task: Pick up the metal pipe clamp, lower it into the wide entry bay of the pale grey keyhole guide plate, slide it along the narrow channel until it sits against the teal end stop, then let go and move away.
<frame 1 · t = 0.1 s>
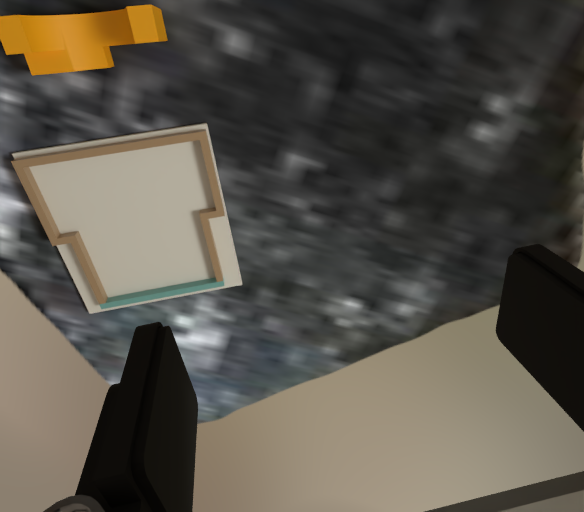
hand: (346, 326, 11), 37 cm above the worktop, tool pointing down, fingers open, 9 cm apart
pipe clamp: (103, 41, 37), on the worktop
keyhole guide: (143, 225, 47), on the worktop
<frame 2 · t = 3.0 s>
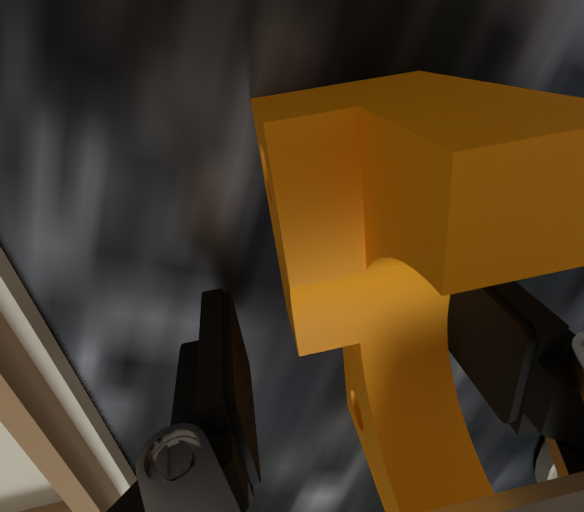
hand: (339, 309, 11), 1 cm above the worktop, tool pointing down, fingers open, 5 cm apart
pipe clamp: (346, 276, 13), on the worktop, touching gripper
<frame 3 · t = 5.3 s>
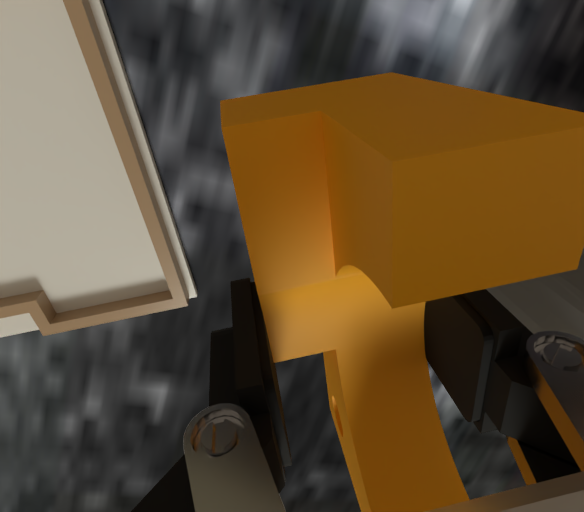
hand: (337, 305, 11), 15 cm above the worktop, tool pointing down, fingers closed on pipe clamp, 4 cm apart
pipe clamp: (326, 281, 13), point 14 cm above the worktop, touching gripper
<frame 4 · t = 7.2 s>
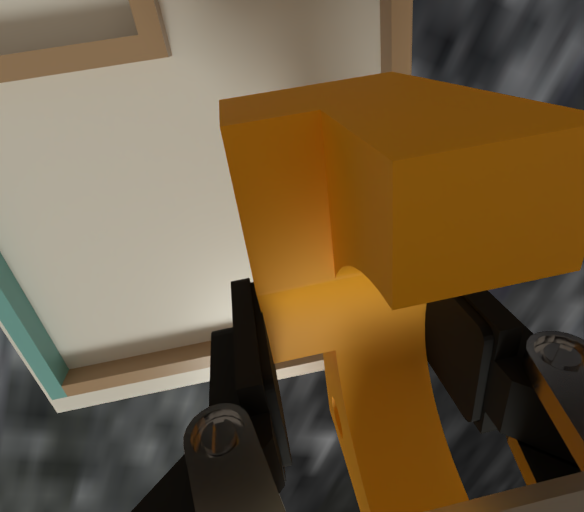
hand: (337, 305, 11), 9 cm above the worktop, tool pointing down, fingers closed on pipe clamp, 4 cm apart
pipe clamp: (325, 281, 13), point 7 cm above the worktop, touching gripper
keyhole guide: (194, 220, 19), on the worktop
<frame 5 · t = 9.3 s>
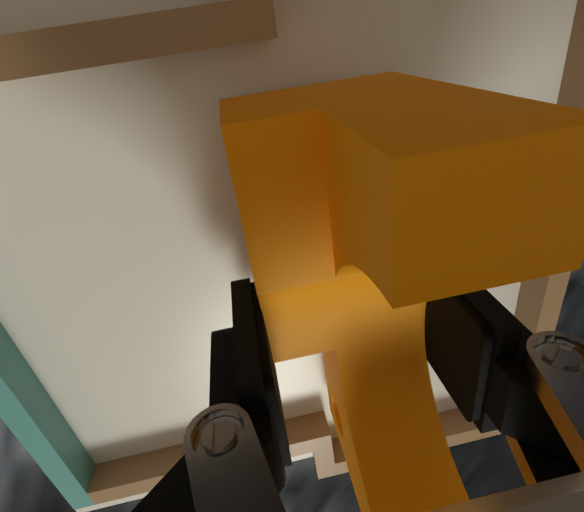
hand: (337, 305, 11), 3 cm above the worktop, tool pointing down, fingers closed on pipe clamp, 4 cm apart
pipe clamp: (326, 281, 13), point 1 cm above the worktop, touching gripper
keyhole guide: (273, 271, 14), on the worktop
when the fingers open (2 cm above the worktop, at t = 11.3 s): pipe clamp stays where it is, resting on keyhole guide.
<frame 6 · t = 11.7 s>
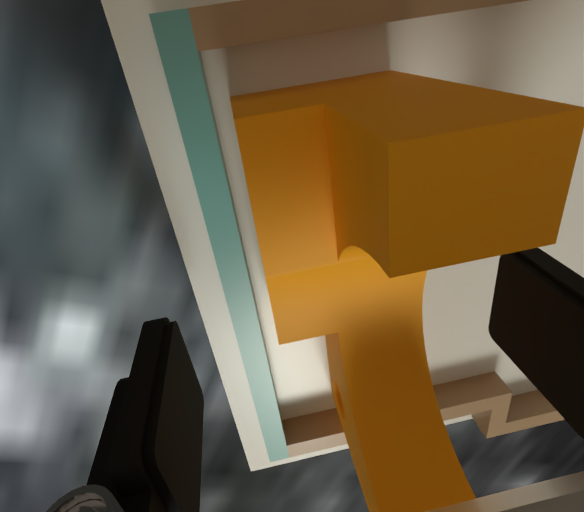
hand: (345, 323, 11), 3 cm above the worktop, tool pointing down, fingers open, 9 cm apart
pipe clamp: (328, 270, 13), resting on keyhole guide
keyhole guide: (484, 229, 14), on the worktop
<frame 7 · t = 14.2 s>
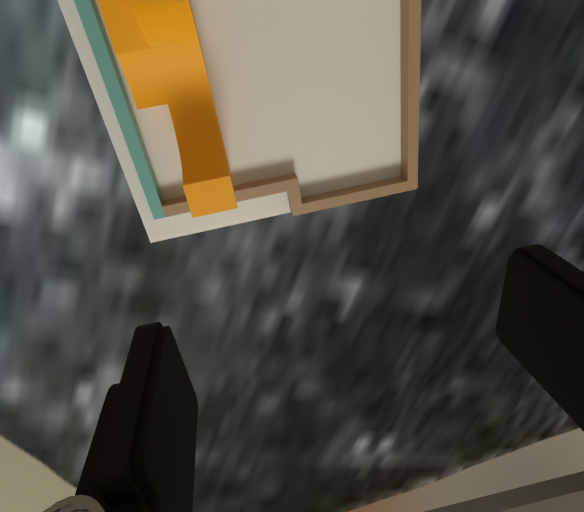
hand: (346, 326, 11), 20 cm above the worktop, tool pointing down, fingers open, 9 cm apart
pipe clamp: (175, 88, 25), resting on keyhole guide
keyhole guide: (262, 70, 25), on the worktop
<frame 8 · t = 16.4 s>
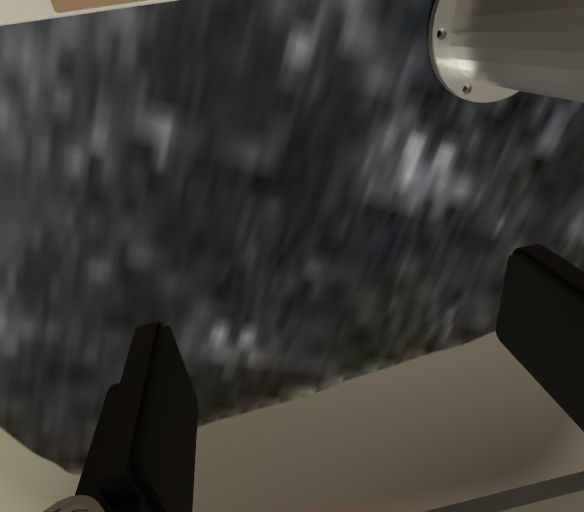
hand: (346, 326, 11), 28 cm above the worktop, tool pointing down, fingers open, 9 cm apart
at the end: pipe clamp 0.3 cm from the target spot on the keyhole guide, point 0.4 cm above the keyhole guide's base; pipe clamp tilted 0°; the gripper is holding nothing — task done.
